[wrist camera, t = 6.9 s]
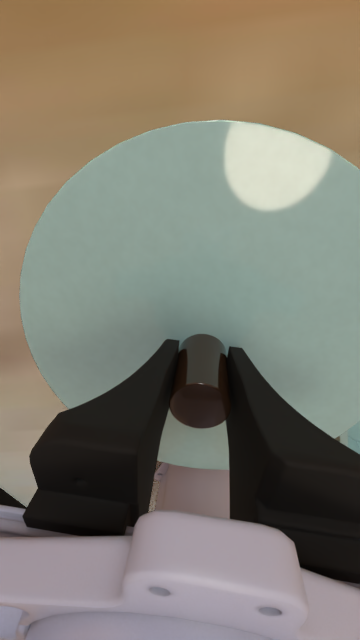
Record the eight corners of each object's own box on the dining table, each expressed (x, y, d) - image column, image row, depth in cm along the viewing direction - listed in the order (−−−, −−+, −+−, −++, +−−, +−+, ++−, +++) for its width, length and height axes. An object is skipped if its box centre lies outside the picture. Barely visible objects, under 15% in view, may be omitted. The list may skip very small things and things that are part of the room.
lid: (450, 390, 14) (553, 479, 10) (168, 481, 20) (157, 557, 16) (294, -34, 8) (393, -294, 3) (-36, 295, 14) (-137, 340, 10)
